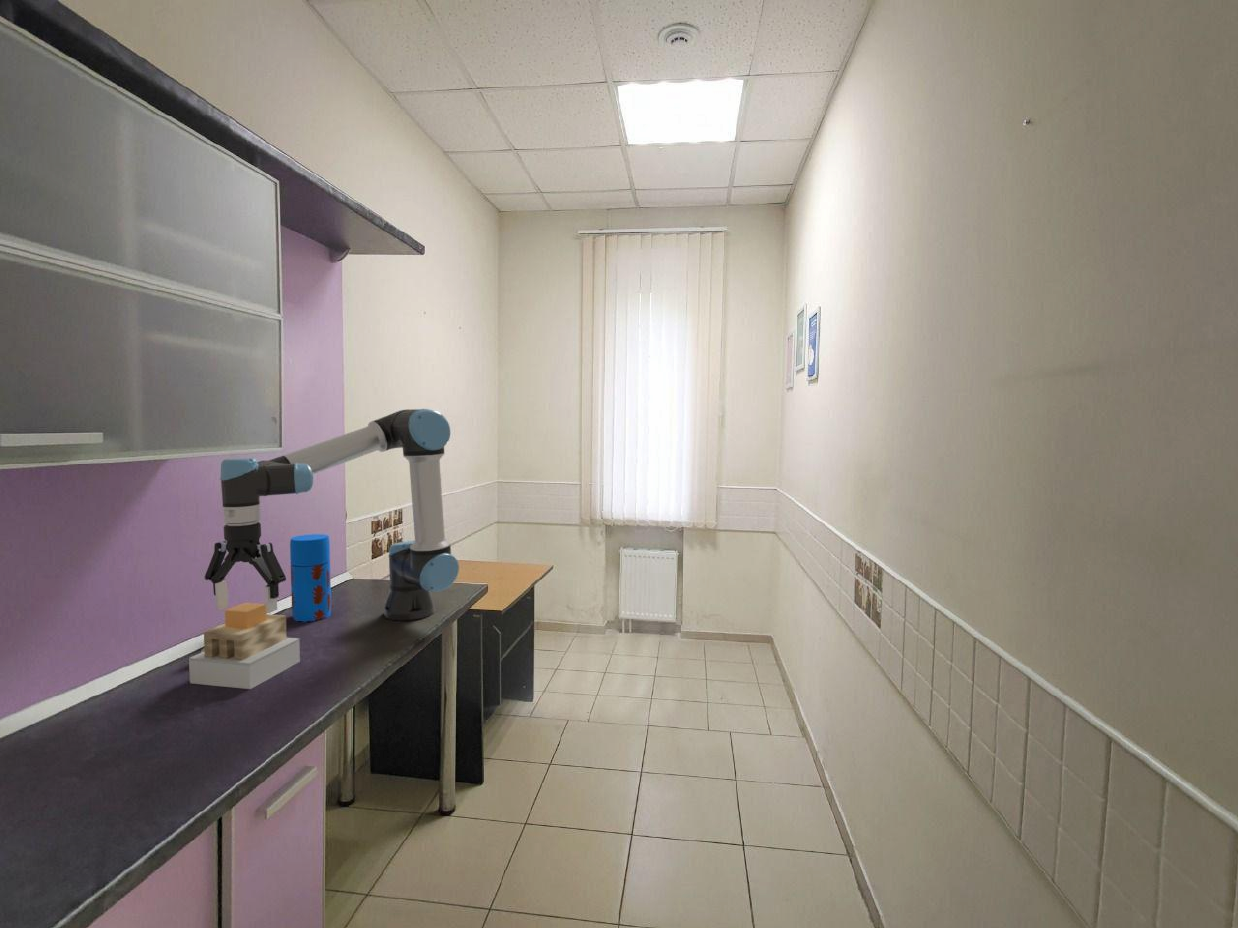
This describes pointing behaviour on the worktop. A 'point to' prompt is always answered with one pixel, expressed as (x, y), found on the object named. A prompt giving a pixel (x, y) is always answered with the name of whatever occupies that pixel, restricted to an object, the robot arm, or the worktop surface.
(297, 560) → the thermos
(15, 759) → the worktop surface
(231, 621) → the orange square block
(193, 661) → the dock
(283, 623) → the pallet
